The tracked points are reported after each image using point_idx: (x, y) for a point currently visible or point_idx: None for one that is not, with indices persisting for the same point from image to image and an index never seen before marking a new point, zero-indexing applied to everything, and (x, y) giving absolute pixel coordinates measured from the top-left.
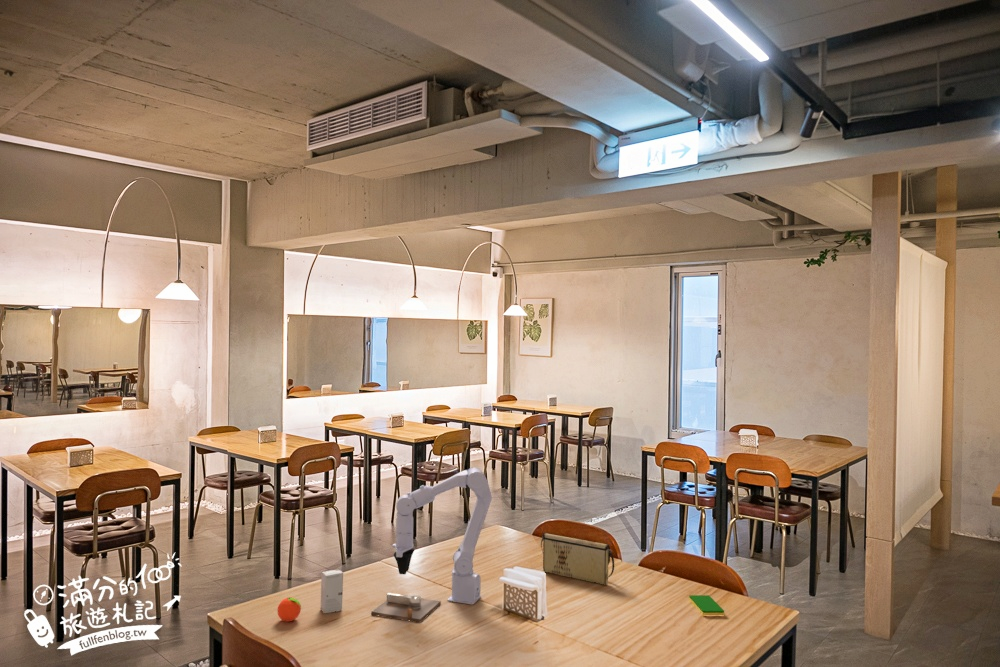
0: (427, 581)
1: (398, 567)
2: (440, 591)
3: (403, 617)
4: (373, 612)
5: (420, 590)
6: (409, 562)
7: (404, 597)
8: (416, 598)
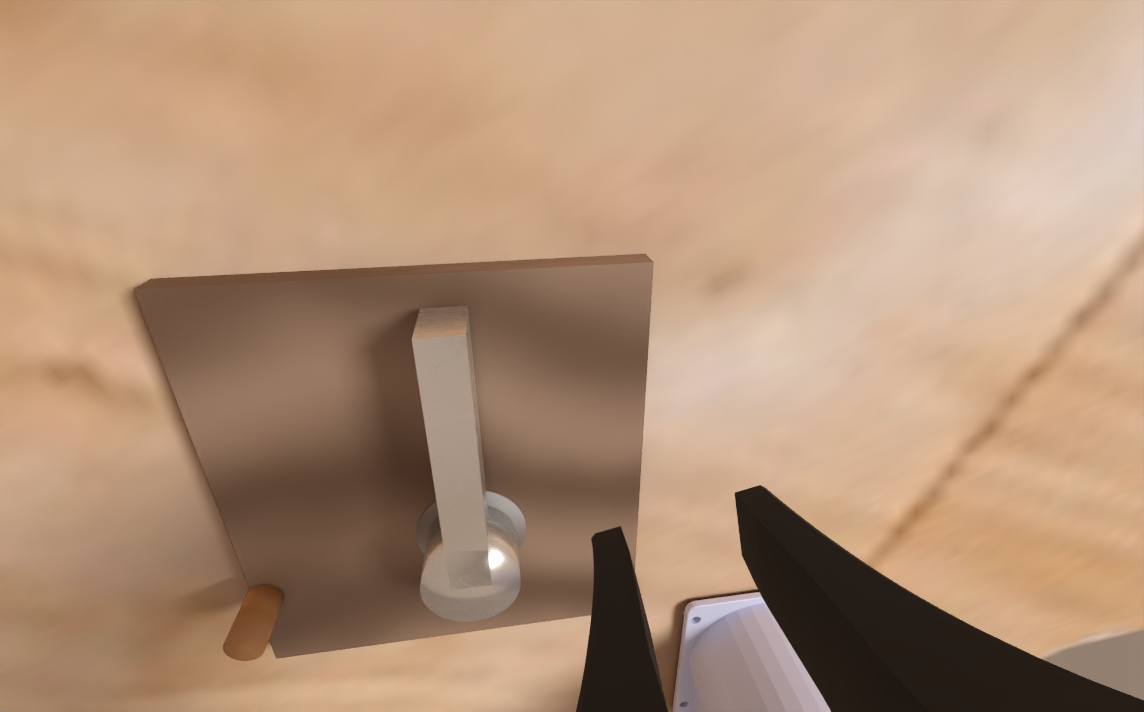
0: (1049, 321)
1: (593, 621)
2: (847, 493)
3: (241, 561)
4: (145, 310)
5: (847, 368)
6: (816, 684)
7: (438, 513)
8: (455, 604)
